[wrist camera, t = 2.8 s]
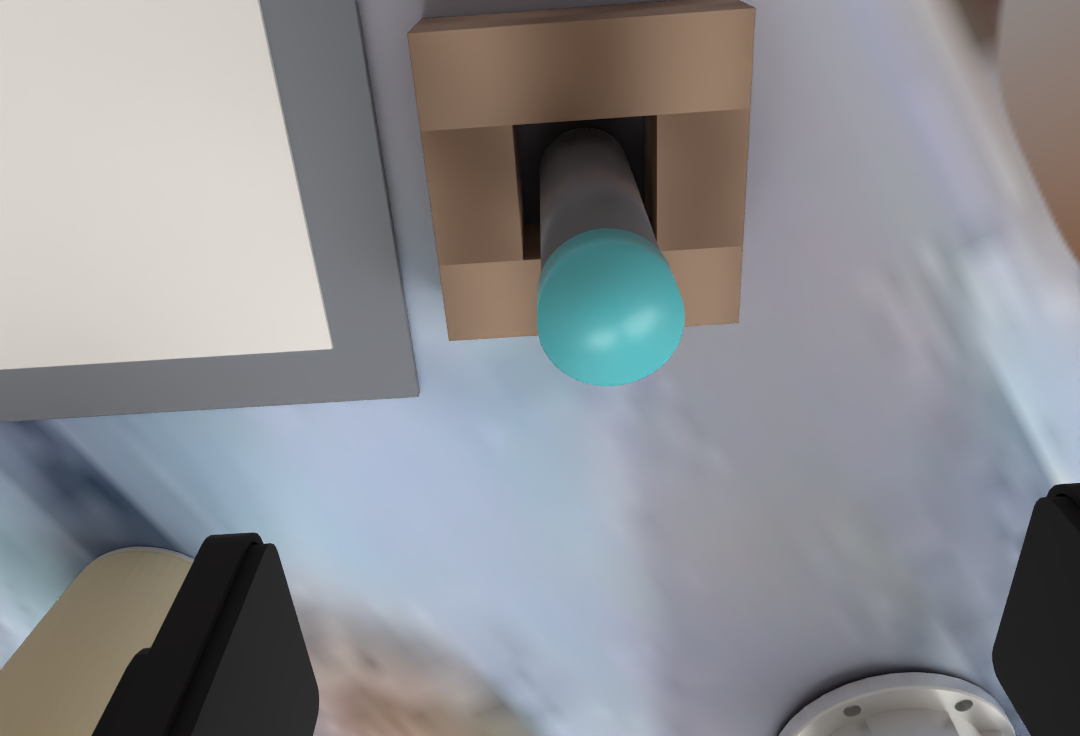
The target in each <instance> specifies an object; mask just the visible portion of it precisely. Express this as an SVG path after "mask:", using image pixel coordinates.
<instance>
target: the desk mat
mask: <svg viewBox="0 0 1080 736" xmlns="http://www.w3.org/2000/svg"><path fill="white" fill-rule="evenodd" d="M260 4H261V9H262V13H263V18H264V23H265V28H266V32H267V37H268V42H269V46H270V51H271V56H272V61H273V65H274V70H275V75H276V79H277V84H278V89H279V94H280V98H281V103H282V108H283V112H284V117H285V122H286V127H287V131H288V136H289V141H290V145H291V150H292V155H293V159H294V164H295V169H296V174H297V178H298V183H299V188H300V192H301V197H302V202H303V207H304V211H305V216H306V221H307V225H308V230H309V235H310V240H311V244H312V249H313V254H314V258H315V263H316V268H317V273H318V277H319V282H320V287H321V291H322V296H323V301H324V306H325V310H326V315H327V320H328V324H329V329H330V334H331V339H332V343H333V348H332V349H324V350H308V351H292V352H276V353H260V354H244V355H228V356H212V357H195V358H179V359H163V360H147V361H131V362H115V363H99V364H83V365H67V366H51V367H35V368H19V369H2V370H0V422H10V421H26V420H43V419H59V418H76V417H93V416H109V415H126V414H142V413H159V412H176V411H192V410H209V409H225V408H242V407H259V406H275V405H292V404H308V403H325V402H341V401H358V400H375V399H391V398H408V397H419V393H420V390H419V384H418V378H417V371H416V365H415V359H414V353H413V346H412V340H411V334H410V328H409V321H408V315H407V309H406V303H405V296H404V290H403V284H402V278H401V271H400V265H399V259H398V253H397V246H396V240H395V234H394V228H393V221H392V215H391V209H390V203H389V196H388V190H387V184H386V178H385V171H384V165H383V159H382V153H381V146H380V140H379V134H378V128H377V121H376V115H375V109H374V103H373V96H372V90H371V84H370V78H369V71H368V65H367V59H366V53H365V46H364V40H363V34H362V28H361V21H360V15H359V9H358V3H357V0H260Z"/></svg>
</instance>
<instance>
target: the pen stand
mask: <svg viewBox="0 0 1080 736" xmlns="http://www.w3.org/2000/svg"><path fill="white" fill-rule="evenodd" d="M755 10H756V8H754V7H752V6H750V5H748V4H746V3H744V2H742V1H740V0H671V1H657V2H643V3H630V4H616V5H603V6H589V7H576V8H562V9H548V10H535V11H521V12H508V13H494V14H480V15H467V16H453V17H440V18H426V19H421V20H420V21H419V22H418V23H417V24H416V25H415V26H414V27H413V28H412V29H411V30H410V31H409V32H408V33H407V35H408V43H409V50H410V57H411V65H412V72H413V79H414V87H415V94H416V102H417V109H418V116H419V124H420V131H421V138H422V146H423V153H424V161H425V168H426V175H427V183H428V190H429V197H430V205H431V212H432V220H433V227H434V234H435V242H436V249H437V256H438V264H439V271H440V279H441V286H442V293H443V301H444V308H445V315H446V323H447V330H448V338H449V341H456V340H472V339H488V338H505V337H521V336H537V335H538V330H537V286H538V280H539V277H540V274H541V238H540V224H526V225H525V224H524V212H523V199H522V187H521V174H520V162H519V149H518V137H517V125H520V124H534V123H548V122H563V121H577V120H591V119H606V118H620V117H634V116H644V161H645V210H646V213H647V216H648V219H649V222H650V225H651V227H652V230H653V233H654V236H655V239H656V241H657V244H658V247H659V250H660V251H661V252H662V254H663V255H664V256H665V258H666V260H667V261H668V263H669V265H670V268H671V270H672V273H673V276H674V278H675V281H676V284H677V287H678V289H679V292H680V295H681V297H682V300H683V305H684V312H685V321H684V326H698V325H714V324H730V323H739V308H740V289H741V271H742V252H743V233H744V215H745V196H746V177H747V159H748V140H749V121H750V103H751V84H752V66H753V47H754V28H755Z"/></svg>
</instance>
